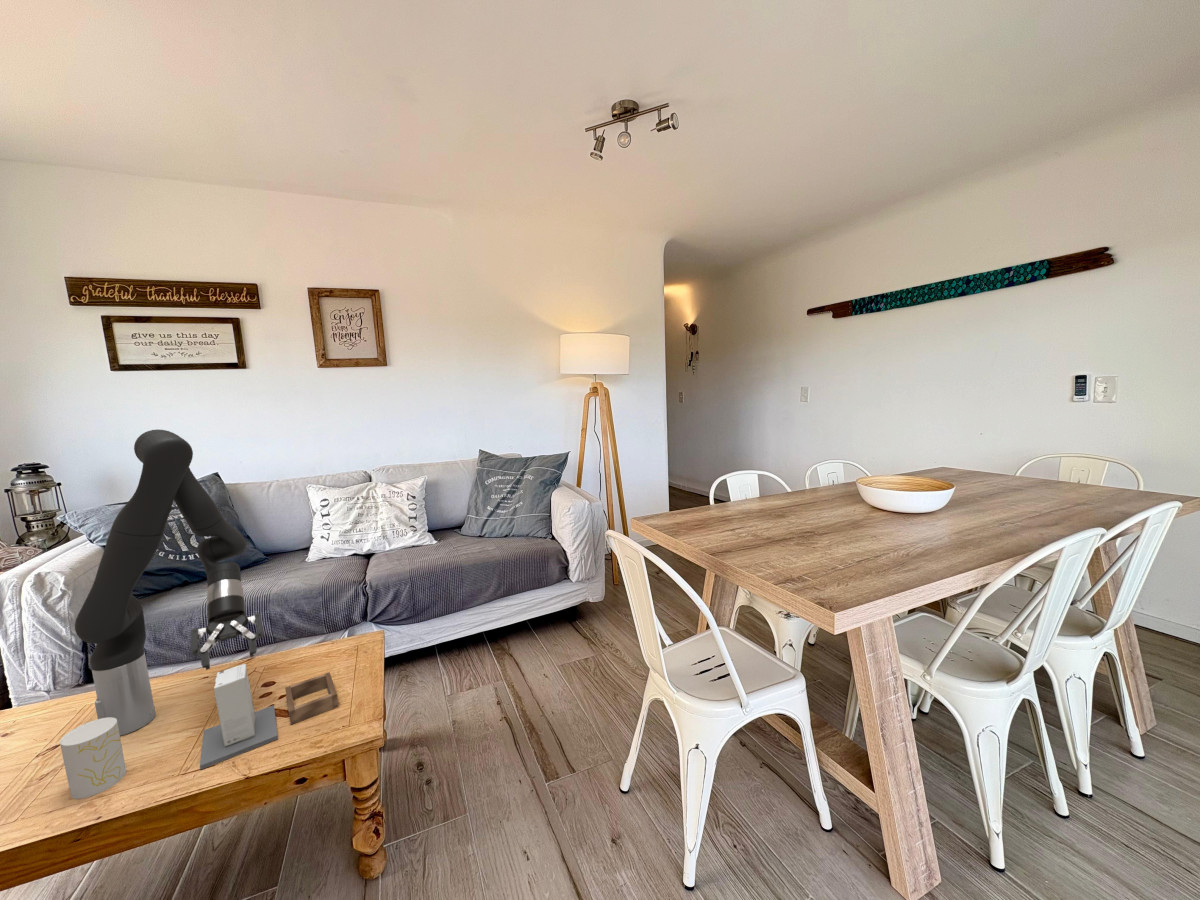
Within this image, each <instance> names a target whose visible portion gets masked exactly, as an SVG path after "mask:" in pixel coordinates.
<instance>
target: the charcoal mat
mask: <svg viewBox="0 0 1200 900" xmlns="http://www.w3.org/2000/svg"><path fill="white" fill-rule="evenodd" d="M275 710H276V709H275V704H274V705H273V704H272V705H270V706H268V707H265V708H262V709H259V710H255V711H254V712H255V727H254V730H255V736H253V737H251V738H248V739H245V740H242V741H239V742H236V743H233V744H231V745H228V746H224V740H223V735H222V730H221V725H220V724H216V725H215V726H214V725H213V726H212V727H209V728H206V729H203V733H202V742H201V743H202V744H201V749H200V750H201V752H200V761H199V770H200V771H202V770H205V769H206V768H209V767H212V766H214V765H216V764H219V763H222V762H224V761H228V760H229V759H232V758H234V757H236V756H239V755H242V754H244V753H246V752H249V751H250V752H251V751H252V750H254V749H257V748H260V747H262V746H265V745H266V744H267V745H268V744H271V743H272V742H275V741H277V740H279V738H278V735H279V734H278V728H277V720H276V719H277V718H276V711H275ZM201 769H202V770H201Z"/></svg>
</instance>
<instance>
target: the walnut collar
mask: <svg viewBox="0 0 1200 900" xmlns="http://www.w3.org/2000/svg"><path fill="white" fill-rule="evenodd" d="M324 689H326V690H327V692H328V694H327V695H324V696H321V697H318V698H315V699H313V700H311V701H308V702H305V703H303V704H300V705H296V706H295V703H294V700H296V699H299V698H301V697H304V696H307V695H310V694H312V693H316V692H319V691H321V690H324ZM284 691H285V698H286V703H287V709H288V715H289V716H288V717H289V722H290V726H292V725H294V724H296V723H299V722H302V721H305V720H307V719H309V718H312V717H315V716H317V715H320V714H323V713H325V712H328V711H330V710H333V709H336V708H338V707H339V700H338V693H337V691H336V686H335V684H334V680H333V677H332V675H331V673H330V672H326V673H323V674H321V675H317V676H314V677H311V678H309V679H306V680H303V681H300V682H297V683H294V684H291V685H288V686H285V687H284Z"/></svg>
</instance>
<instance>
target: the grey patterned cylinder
mask: <svg viewBox="0 0 1200 900" xmlns="http://www.w3.org/2000/svg"><path fill="white" fill-rule="evenodd" d="M59 745H60V749H61V753H62V754H61V755H62V760H63V764H64V768H65V775H66V778H67V783H68V789H69V793H70V798H72V799H74V800H82V799H86V798H89V797H93V796H95V795H98V794H100V793H103V792H104V791H107V790H108V789H110V788H112V787H114V786H115V785H117V783H119V782H120V781H121V780H122V779H123V778H124V777H125V775H126V773H127V767H126V761H125V757H124V755H125V754H124V751H123V746H122V745H123V744H122V740H121V736H120V734H119V729H118V724H117V719H116V718H113V717H107V718H101V719H98V718H97V719H94V720H92V721H88V722H86V723H83V724H81V725H79V726H77V727H75V728H73V729H72V730H70V731H69V732H67V733H66V734H65V735H63V737H62V738H60V740H59Z"/></svg>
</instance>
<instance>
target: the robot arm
mask: <svg viewBox="0 0 1200 900" xmlns="http://www.w3.org/2000/svg"><path fill="white" fill-rule="evenodd" d="M133 450H134V455H135V457H136V458H137V459H138V461H140V463H142V470H141V474H140V478H139V479H138V484H137V487H136V489H135V491H134V493H133V495H132V496H131V497H130V499H129V500H128V502H126V504H125V505H124V506H123V507H122V508H121V509H120V511H118V514H117V515H116V517H115V519H114V520H113V523H112V525H111V528H110V531H109V534H108V537H107V540H106V543H105V547H104V549H103V552H102V556H101V559H100V562H99V565H98V568H97V572H96V575H95V578H94V581H93V583H92V586H91V588H90V590H89V592H88V594H87V597H86V598H85V600H84V602H83V605H82V606H81V608H80V611H79V612H78V614H77V616H76V619H75V623H74V630H75V631H74V632H75V633H76V636H77V637H78V638H79V639H80V640H81V641H83V642H85V643H88V644H92V645H94V644H95V648H94V650H93V652H92V654H91V656H90V657H89V658H90V659H89V663H90V667H91V668H90V669H91V673H92V679H93V684H94V688H95V694H96V699H95V702H94V706H95V711H96V712H95V713H96V717H97V719H101V718H107V717H113V718H116V719H117V724H118V729H119V734H120V737H121V736H125V735H127V734H131V733H133V732H135V731H137V730H139V729H142V728H143V727H144V726H146V725H148V724H149V723H150V722H153V720H154V718H155V717H156V709H155V708H156V707H155V704H154V697H153V693H152V687H151V686H152V685H151V682H150V681H151V680H150V675H149V669H148V663H147V658H146V653H145V644H146V643H145V642H146V638H147V631H146V624H145V615H144V609H143V605H142V603H141V602H140V600H139V599H138V598H137V597H136V596H135V595H134V594H132V593H133V590H134V587H135V586H136V584H137V583H138V581H139V579H140V578H141V576H142V575H143V574H144V572H145V571H146V569H147V568H148V566H149V565H150V563H151V562H152V561H153V558H154V556H156V553H157V551H158V549H159V546H160V543H161V542H162V538H163V535H164V532H165V530H166V526H167V522H168V519H169V516H170V513H171V510H172V507H173V505H174V504H175V506H176V507H177V509H178V510H179V512H180V514H181V515H182V517H183V519H184V520H185V521H186V523H187V525H188V527H189V528H190V530H191V531H192V533H194V535H195V536H196V537H201V538H203V537H207V538H204V539H202V540H200V542H199V543H198V544H197V546H196V553H197V555H198V558H199V560H200V561H201V563H202V565H203V569H204V571H205V574H206V581H207V582H206V583H207V591H206V592H207V594H206V605H207V609H206V610H207V625H206V627H202V628H199V629H198V628H197V627H194V628H192V629H191V636H190V637H191V638H190V652H191V654H192V656H200V662H201V663H200V664H201V666H202V668H203V669H205V670H206V671H208V670H210V669H211V666H210V665H211V662H210V661H211V660H210V652H211V650H212V649H213V648H214V647H215V646H216V645H217V643H218V642H221V643H222V642H226V641H227V640H230V639H237V637H239V636H240V637H241V638H243V639H246V640H247V641H248V650H249V657H250V658H252V657H254V656H255V655H254V654H257V651H258V650H257V640H259V639H261V638H263V637H264V636H265V632H264V631H265V630H264V628H263V627H264V626H263V622H262V616H261V613H260V612H256V613H255V614H253V615H252V616H251V615H250V616H247V615H246V606H245V593H244V587H243V583H242V575H241V567H240V565H239V563H236V562H233V561H226V560H229V559H230V558H234V557H237V556H239V555H242V554H243V553H244V552H245V551H246V548H247V541H246V539H245V537H244V535H243V534H242V533H241V532H240V531H239V530H238V529H236V528H235V527H234V526H233V525H232V524H230V523H229V522H228V521H227V520H226V519H225V518H224V516H223V514H222V513H221V511H220V510H219V508H218V506H217V504H216V503H215V501H214V500H213V498H211V496H210V494H208V492H207V491H206V489H205V488H204V487H203V486H202V484H201V483H200V482H199V481H198V479H197V478H196V477H195V475H194V474H193V472H192V470H191V468H190V466H191V463H192V461H193V457H194V456H193V455H194V451H193V449H192V446H191V444H190V443H189V442H188V441H187V440H186V439H184V438H183V437H181V436H180V435H178V434H176V433H174V432H171V431H169V430H166V429H158V428H157V429H151V430H147V431H145V432H143V433H142V434H140V435H139V436H138V437H137V438H136V440H135V442H134V445H133ZM224 560H225V561H224ZM221 561H222V562H221ZM249 623H251V624H252V625H256V630H257V632H255V633H253V632H251V631H250V630H249V629H248V628H246V626H248V624H249ZM204 634H208V635H209V637H208V638H207V639H206V642H205V643H204V644H203V646H202V647H200V639H202V638H203V637H204Z"/></svg>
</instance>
